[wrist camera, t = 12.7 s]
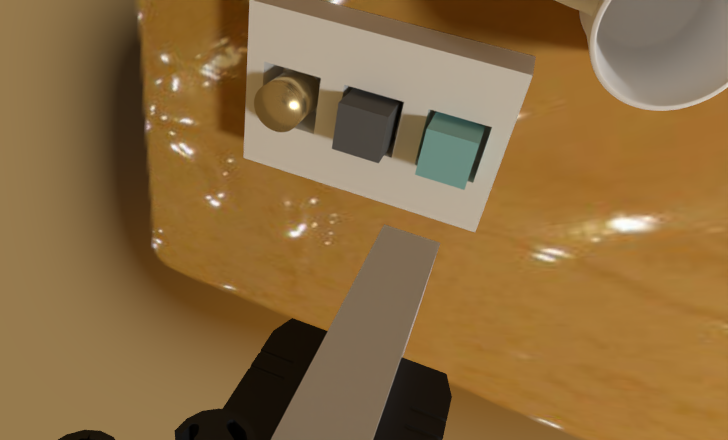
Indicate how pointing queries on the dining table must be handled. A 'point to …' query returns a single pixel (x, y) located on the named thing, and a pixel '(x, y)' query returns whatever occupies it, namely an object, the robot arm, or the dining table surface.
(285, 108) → the gold metal cylinder
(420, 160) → the teal cube
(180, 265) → the dining table surface
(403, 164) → the white slotted tray
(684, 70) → the mug
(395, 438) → the robot arm
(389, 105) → the dark grey cube
